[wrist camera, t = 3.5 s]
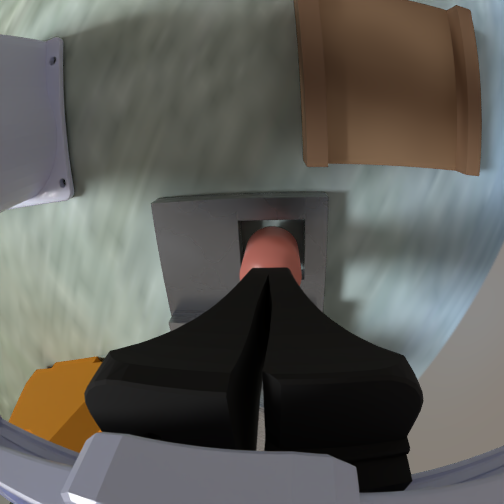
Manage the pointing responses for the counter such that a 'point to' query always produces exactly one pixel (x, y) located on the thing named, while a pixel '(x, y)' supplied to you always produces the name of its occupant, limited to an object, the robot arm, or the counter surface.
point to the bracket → (58, 404)
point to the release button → (272, 252)
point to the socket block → (229, 244)
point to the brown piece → (389, 84)
